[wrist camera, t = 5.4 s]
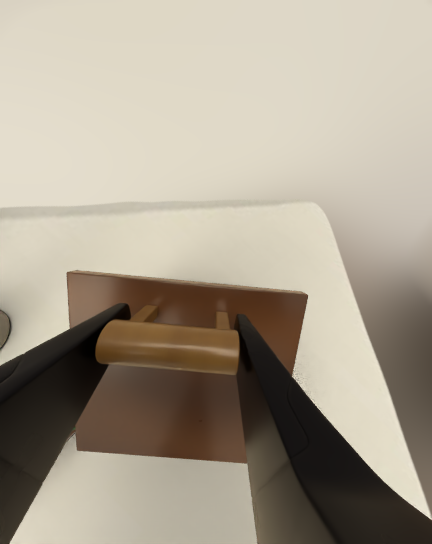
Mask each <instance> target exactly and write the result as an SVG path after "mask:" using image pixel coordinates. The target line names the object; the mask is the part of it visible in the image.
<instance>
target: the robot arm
mask: <svg viewBox="0 0 432 544" xmlns="http://www.w3.org/2000/svg"><path fill="white" fill-rule="evenodd" d="M115 319H119V320H130V319H131V312H130V307H129V305H128V304H127V303H118V304H116V305H114V306H112V307H110V308H108V309H106V310H105V311H103V312H101V313H99V314H97V315H95V316H93V317H91V318H89V319H88V320H86V321H84V322H82V323H80V324H78V325H76V326H74V327H72V328H71V329H69V330H67V331H65V332H63V333H61V334H59V335H57V336H56V337H54V338H52V339H50V340H48V341H46V342H44V343H42V344H40V345H39V346H37V347H35V348H33V349H31V350H29V351H27V352H25V354H21V355H20V356H18V357H16V358H14V359H12V360H10V361H8V362H6V363H4V364H2V365H1V366H0V544H9V543H10V541H11V539H12V538H13V536H14V534H15V532H16V531H17V529H18V527H19V525H20V523H21V522H22V520H23V518H24V516H25V514H26V513H27V511H28V509H29V507H30V506H31V504H32V502H33V500H34V498H35V497H36V495H37V493H38V491H39V490H40V488H41V486H42V483H43V482H44V480H45V478H46V477H47V475H48V473H49V471H50V470H51V468H52V466H53V464H54V462H55V461H56V459H57V457H58V455H59V454H60V452H61V450H62V448H63V446H64V445H65V443H66V441H67V439H68V438H69V436H70V434H71V432H72V430H73V429H74V427H75V425H76V423H77V421H78V420H79V418H80V416H81V414H82V413H83V411H84V409H85V407H86V405H87V404H88V402H89V400H90V398H91V397H92V395H93V393H94V391H95V389H96V388H97V386H98V384H99V382H100V381H101V379H102V377H103V375H104V373H105V372H106V370H107V368H108V366H109V364H101V363H99V362H98V361H97V359H96V356H95V350H96V344H97V341H98V338H99V336H100V334H101V332H102V330H103V329H104V327H105V326H106V325H107V324H108V323H109V322H110V321H112V320H115ZM234 330H236V331H237V332H238V335H239V343H240V357H239V367H238V371H237V374H236V378H237V386H238V393H239V401H240V409H241V417H242V425H243V433H244V441H245V448H246V456H247V464H248V472H249V480H250V488H251V496H252V504H253V512H254V520H255V528H256V535H257V543H258V544H432V520H431V519H429V518H428V517H427V516H425V515H424V514H423V513H421V512H420V511H419V510H417V509H416V508H415V507H413V506H412V505H411V504H409V503H408V502H407V501H405V500H404V499H403V498H402V497H401V496H399V495H398V494H397V493H396V492H395V491H393V490H392V489H391V488H390V487H389V486H388V485H387V484H386V483H385V482H384V481H383V480H382V479H381V478H380V477H379V476H378V475H377V474H376V473H375V472H374V471H373V470H372V469H371V468H370V467H369V466H368V465H367V464H366V462H365V461H364V460H363V459H362V458H361V457H360V456H359V455H358V453H357V452H356V451H355V450H354V449H353V448H352V447H351V446H350V444H349V443H348V442H347V441H346V440H345V439H344V438H343V436H342V435H341V434H340V433H339V432H338V431H337V430H336V429H335V427H334V426H333V425H332V424H331V423H330V422H329V421H328V420H327V418H326V417H325V416H324V415H323V414H322V413H321V411H320V410H319V409H318V408H317V407H316V406H315V404H314V403H313V402H312V401H311V400H310V398H309V397H308V396H307V395H306V393H305V392H304V391H303V390H302V388H301V387H300V386H299V384H298V383H297V382H296V380H295V379H294V378H293V377H291V374H290V373H289V371H288V370H287V369H286V367H285V366H284V365H283V364H282V362H281V361H280V360H279V358H278V357H277V356H276V354H275V353H274V352H273V350H272V349H271V348H270V347H269V345H268V344H267V343H266V341H265V340H264V339H263V337H262V336H261V335H260V333H259V332H258V331H257V329H256V328H255V327H254V326H253V324H252V323H251V322H250V320H249V319H248V318H247V316H246V315H245V314H237V315H236V319H235V324H234Z"/></svg>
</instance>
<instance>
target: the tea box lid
mask: <svg viewBox="0 0 432 544" xmlns="http://www.w3.org/2000/svg"><path fill="white" fill-rule="evenodd" d="M67 288H68V306H69V323H70V329H71V328H72V327H74V326H76V325H78V324H80V323H82V322H84V321H86V320H88V319H89V318H91V317H93V316H95V315H97V314H99V313H101V312H103V311H105V310H106V309H108V308H110V307H112V306H114V305H116V304H118V303H127V304H128V305H129V307H130V312H131V319H130V320H119V319H115V320H112V321H110V322H109V323H108V324H107V325H106V326H105V327H104V329H103V330H102V332H101V334H100V336H99V338H98V341H97V344H96V350H95V356H96V359H97V361H98V362H99V363H101V364H109V366H108V368H107V370H106V372H105V373H104V375H103V377H102V379H101V381H100V382H99V384H98V386H97V388H96V389H95V391H94V393H93V395H92V397H91V398H90V400H89V402H88V404H87V405H86V407H85V409H84V411H83V413H82V414H81V416H80V418H79V420H78V421H77V423H76V425H75V427H76V444H77V450H78V451H89V452H102V453H115V454H128V455H142V456H155V457H168V458H181V459H194V460H207V461H220V462H233V463H247V456H246V448H245V441H244V433H243V425H242V417H241V409H240V401H239V393H238V386H237V378H236V374H237V371H238V367H239V357H240V343H239V335H238V332H237V331H236V330H234V324H235V319H236V315H237V314H245V315H246V316H247V318H248V319H249V320H250V322H251V323H252V324H253V326H254V327H255V328H256V329H257V331H258V332H259V333H260V335H261V336H262V337H263V339H264V340H265V341H266V343H267V344H268V345H269V347H270V348H271V349H272V350H273V352H274V353H275V354H276V356H277V357H278V358H279V360H280V361H281V362H282V364H283V365H284V366H285V367H286V369H287V370H288V371H289V373H290V374H291V377H292V374H293V369H294V364H295V359H296V354H297V349H298V344H299V339H300V334H301V329H302V324H303V319H304V314H305V309H306V304H307V299H308V295H307V294H305V293H303V292H300V291H290V290H279V289H269V288H258V287H247V286H237V285H226V284H216V283H205V282H195V281H184V280H174V279H163V278H152V277H142V276H131V275H121V274H110V273H100V272H89V271H79V270H76V271H70V272H67Z"/></svg>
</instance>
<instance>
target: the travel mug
mask: <svg viewBox="0 0 432 544" xmlns="http://www.w3.org/2000/svg"><path fill="white" fill-rule="evenodd" d="M9 329H10V324H9V319H8V317H7V316H6V314H5V313H4V312H2V311H1V310H0V348H1V347H2V345H3V344H4V342H5V341H6V339H7V336H8V334H9Z"/></svg>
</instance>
